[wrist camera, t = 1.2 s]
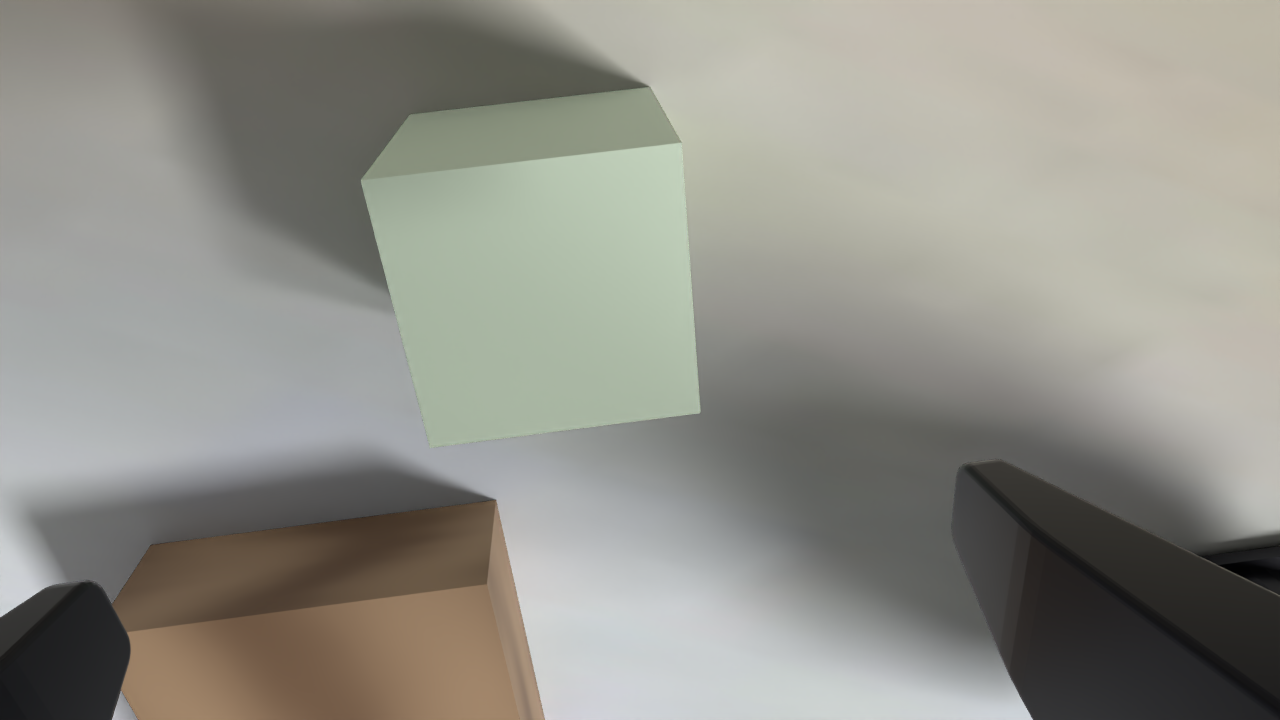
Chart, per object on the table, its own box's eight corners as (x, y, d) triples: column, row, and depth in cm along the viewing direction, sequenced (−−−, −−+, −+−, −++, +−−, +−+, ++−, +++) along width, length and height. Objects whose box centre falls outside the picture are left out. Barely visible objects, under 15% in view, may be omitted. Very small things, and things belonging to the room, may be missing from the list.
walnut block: (497, 491, 22) (487, 584, 19) (546, 717, 26) (545, 822, 23) (156, 535, 22) (90, 636, 19) (262, 756, 26) (223, 868, 23)
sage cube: (650, 86, 17) (681, 142, 13) (668, 303, 20) (700, 413, 15) (410, 113, 17) (360, 180, 13) (458, 329, 20) (429, 448, 15)
